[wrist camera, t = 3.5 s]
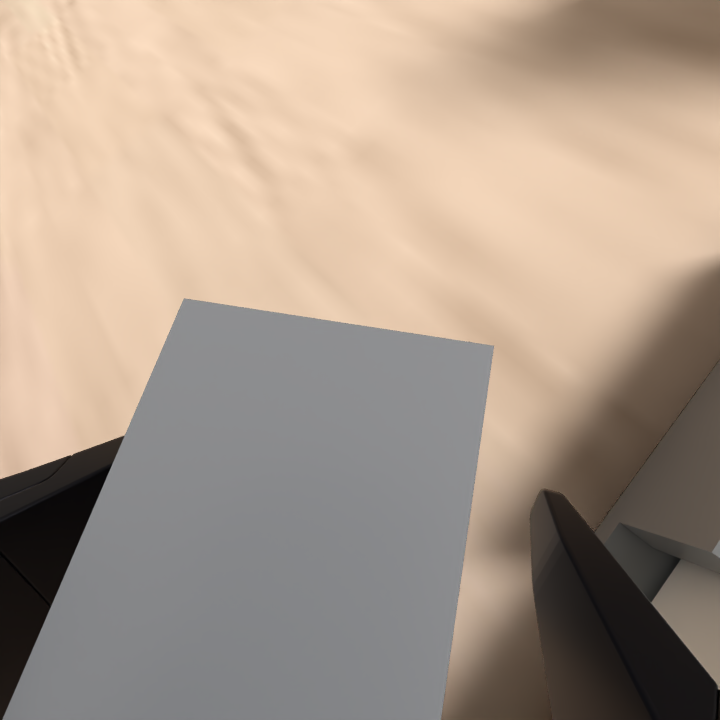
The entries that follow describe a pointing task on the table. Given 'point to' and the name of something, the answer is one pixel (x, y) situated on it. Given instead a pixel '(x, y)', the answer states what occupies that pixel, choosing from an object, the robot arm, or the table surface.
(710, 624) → the white drawer
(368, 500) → the block
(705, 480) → the grey storage bin
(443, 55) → the table surface
